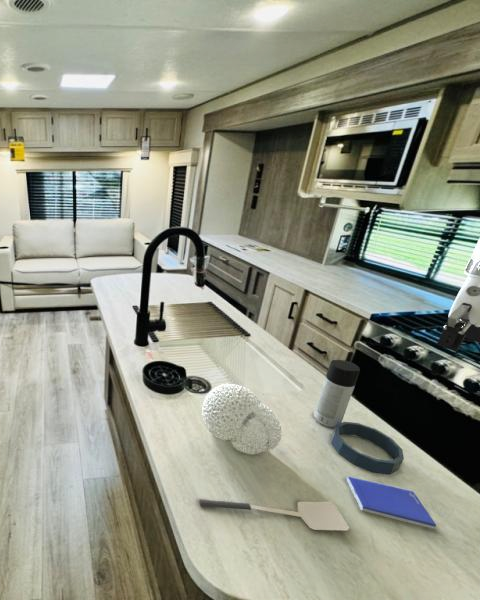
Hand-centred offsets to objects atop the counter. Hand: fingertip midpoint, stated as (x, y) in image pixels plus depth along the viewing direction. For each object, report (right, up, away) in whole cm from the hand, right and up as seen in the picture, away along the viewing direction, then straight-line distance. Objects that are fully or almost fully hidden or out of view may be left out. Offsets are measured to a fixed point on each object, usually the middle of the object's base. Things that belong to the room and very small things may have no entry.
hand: (459, 343), depth 70 cm
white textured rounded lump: (-40, -30, +21) cm, 54 cm away
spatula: (-43, -38, 0) cm, 57 cm away
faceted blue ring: (-8, -31, +14) cm, 36 cm away
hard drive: (-15, -37, +1) cm, 40 cm away
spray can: (-10, -27, +25) cm, 39 cm away
